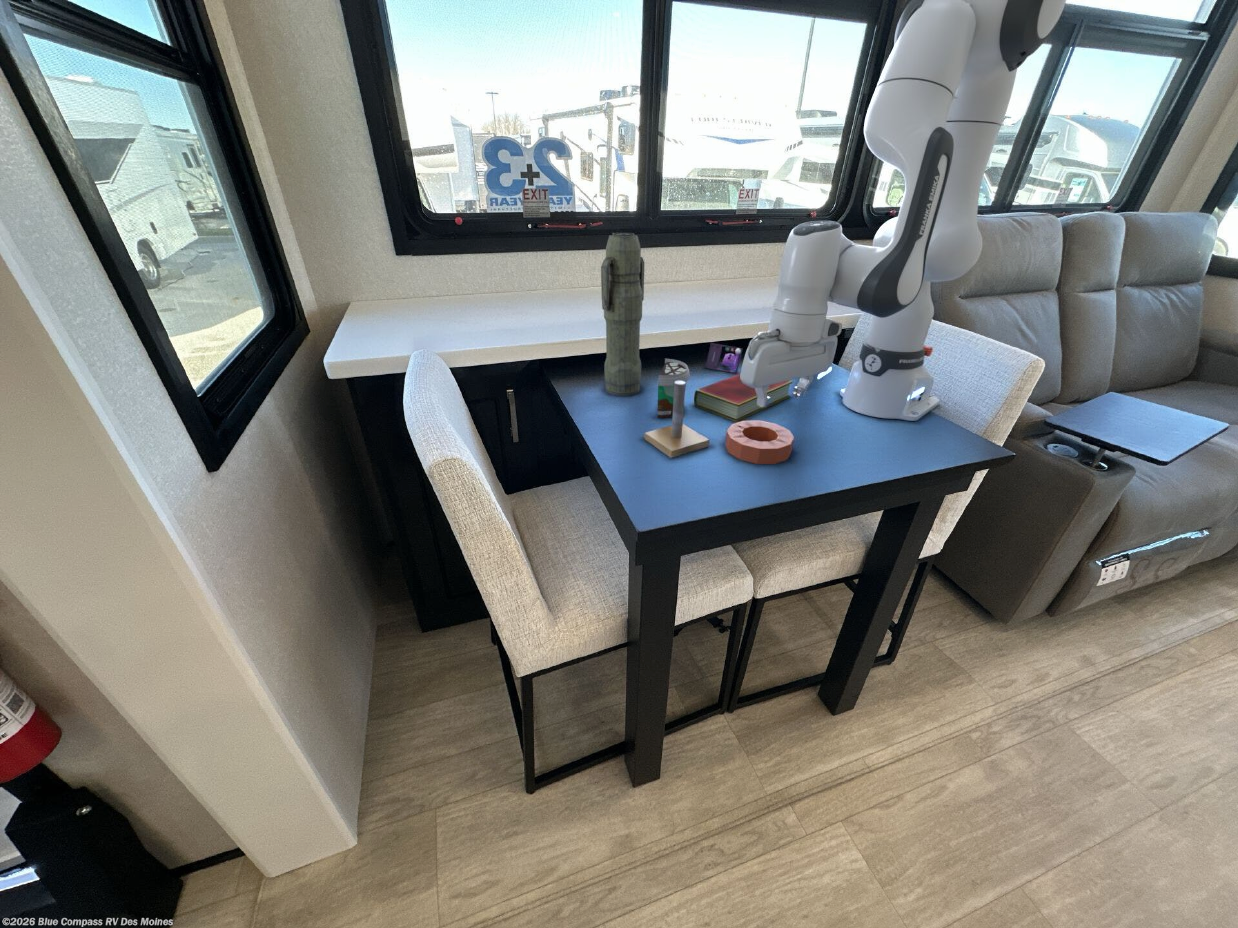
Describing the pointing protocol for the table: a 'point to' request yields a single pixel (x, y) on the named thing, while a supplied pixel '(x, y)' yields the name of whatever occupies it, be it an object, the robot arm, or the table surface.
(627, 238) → the grey-green tall cylinder
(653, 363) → the table surface
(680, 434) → the stand
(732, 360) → the purple rectangular box
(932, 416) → the table surface
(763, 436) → the ring
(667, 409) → the food container
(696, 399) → the hardcover book
